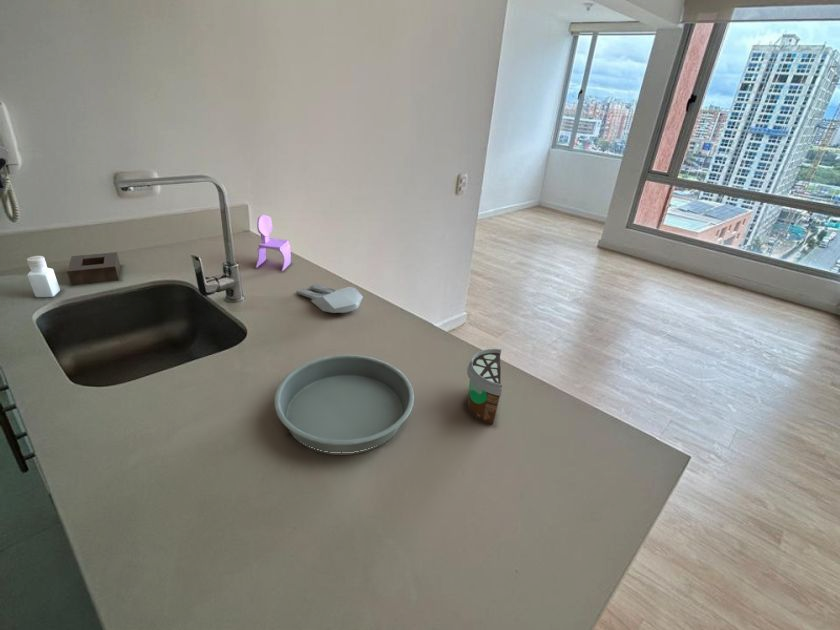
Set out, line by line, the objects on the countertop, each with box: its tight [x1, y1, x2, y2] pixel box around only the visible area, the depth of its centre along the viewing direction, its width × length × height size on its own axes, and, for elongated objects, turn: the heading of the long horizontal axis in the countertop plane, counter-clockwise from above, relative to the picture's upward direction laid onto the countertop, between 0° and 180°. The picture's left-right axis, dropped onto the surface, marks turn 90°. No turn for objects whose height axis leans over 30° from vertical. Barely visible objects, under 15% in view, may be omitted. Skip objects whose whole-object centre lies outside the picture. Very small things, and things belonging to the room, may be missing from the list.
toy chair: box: [255, 214, 292, 272], centre depth 131 cm, size 8×9×15 cm
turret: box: [296, 283, 363, 314], centre depth 117 cm, size 10×20×5 cm, turn 50°
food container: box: [466, 348, 503, 425], centre depth 85 cm, size 12×6×10 cm, turn 172°
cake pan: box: [273, 354, 415, 456], centre depth 81 cm, size 25×25×4 cm
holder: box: [66, 251, 121, 286], centre depth 119 cm, size 10×10×4 cm
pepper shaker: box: [26, 255, 61, 298], centre depth 107 cm, size 4×4×10 cm
